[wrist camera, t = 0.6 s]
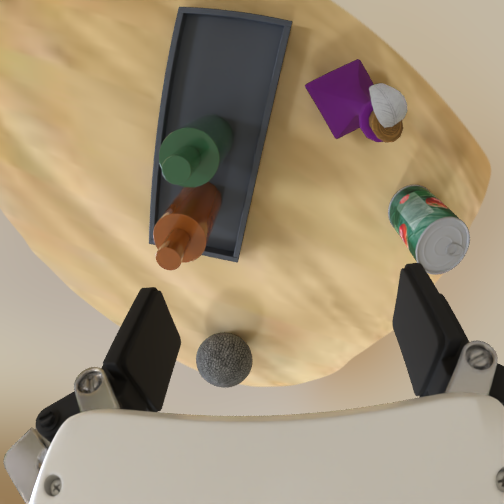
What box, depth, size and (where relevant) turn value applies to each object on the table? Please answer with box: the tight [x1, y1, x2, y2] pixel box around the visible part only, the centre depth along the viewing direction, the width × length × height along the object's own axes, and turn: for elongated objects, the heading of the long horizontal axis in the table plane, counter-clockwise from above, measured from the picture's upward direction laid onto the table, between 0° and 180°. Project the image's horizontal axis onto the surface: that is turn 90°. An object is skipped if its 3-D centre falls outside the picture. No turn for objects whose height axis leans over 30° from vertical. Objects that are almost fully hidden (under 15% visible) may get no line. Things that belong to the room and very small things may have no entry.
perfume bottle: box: [305, 59, 407, 142], centre depth 26 cm, size 8×8×18 cm
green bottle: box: [159, 115, 234, 187], centre depth 31 cm, size 6×6×15 cm
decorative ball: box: [196, 333, 252, 387], centre depth 53 cm, size 10×10×10 cm
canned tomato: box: [388, 185, 470, 274], centre depth 36 cm, size 8×8×11 cm
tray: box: [149, 7, 292, 262], centre depth 37 cm, size 34×14×2 cm, turn 168°
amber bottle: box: [153, 182, 222, 270], centre depth 36 cm, size 6×6×15 cm
